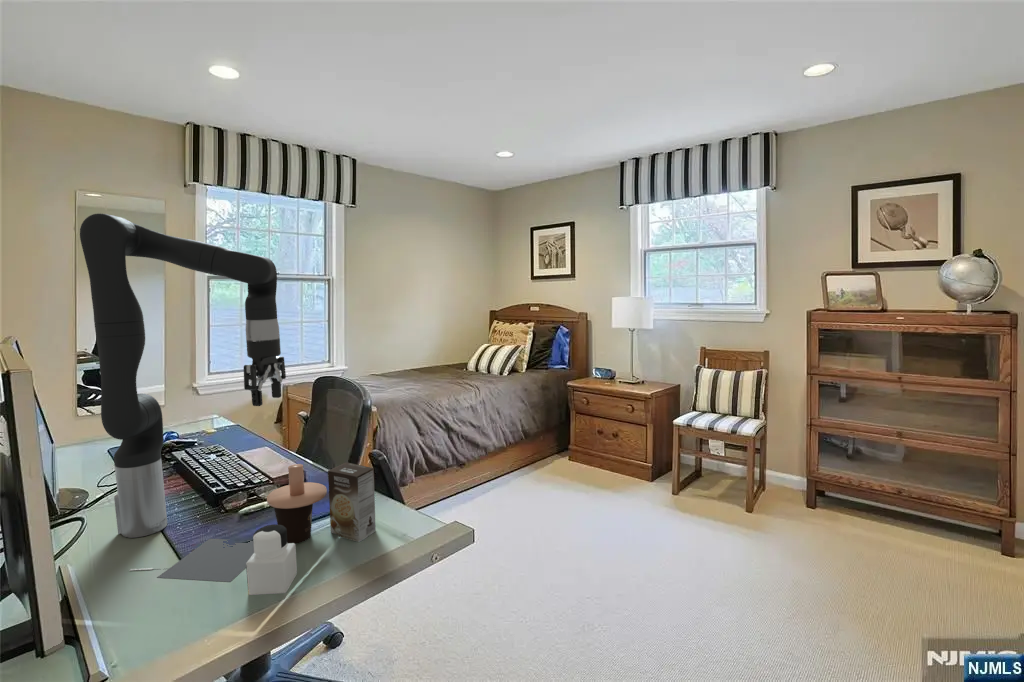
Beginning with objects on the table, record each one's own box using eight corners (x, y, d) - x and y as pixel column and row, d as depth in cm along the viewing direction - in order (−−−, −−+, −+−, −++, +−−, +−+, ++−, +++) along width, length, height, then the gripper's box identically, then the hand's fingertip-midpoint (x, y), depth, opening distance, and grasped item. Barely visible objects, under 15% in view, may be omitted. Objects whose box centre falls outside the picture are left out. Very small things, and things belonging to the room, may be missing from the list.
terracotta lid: (255, 507, 119) (252, 476, 118) (285, 484, 132) (284, 456, 131) (310, 509, 117) (308, 478, 116) (336, 486, 130) (334, 457, 129)
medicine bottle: (262, 576, 109) (258, 521, 108) (297, 574, 110) (294, 519, 108) (247, 597, 102) (243, 538, 100) (286, 595, 103) (282, 537, 101)
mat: (157, 580, 108) (157, 577, 108) (209, 541, 124) (209, 538, 124) (230, 584, 106) (230, 581, 106) (274, 544, 122) (274, 541, 122)
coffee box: (329, 535, 126) (325, 470, 124) (348, 523, 132) (344, 461, 130) (359, 543, 122) (356, 476, 120) (377, 530, 128) (374, 466, 126)
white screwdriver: (125, 573, 111) (124, 568, 111) (219, 569, 113) (219, 564, 112) (122, 575, 110) (122, 570, 110) (217, 571, 112) (217, 566, 112)
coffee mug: (301, 550, 119) (299, 508, 118) (267, 547, 121) (264, 505, 120) (329, 526, 130) (327, 487, 129) (298, 523, 132) (295, 485, 131)
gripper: (265, 334, 138) (269, 394, 140) (230, 341, 124) (235, 408, 126) (292, 334, 138) (296, 395, 140) (260, 341, 124) (265, 409, 126)
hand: (267, 401), depth 133 cm, fingers open, 8 cm apart
